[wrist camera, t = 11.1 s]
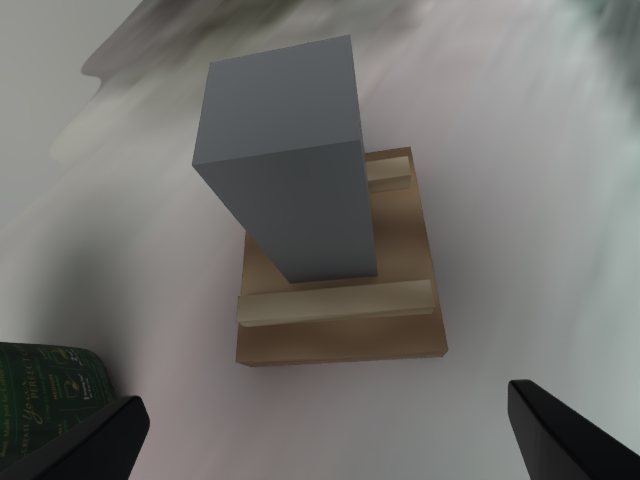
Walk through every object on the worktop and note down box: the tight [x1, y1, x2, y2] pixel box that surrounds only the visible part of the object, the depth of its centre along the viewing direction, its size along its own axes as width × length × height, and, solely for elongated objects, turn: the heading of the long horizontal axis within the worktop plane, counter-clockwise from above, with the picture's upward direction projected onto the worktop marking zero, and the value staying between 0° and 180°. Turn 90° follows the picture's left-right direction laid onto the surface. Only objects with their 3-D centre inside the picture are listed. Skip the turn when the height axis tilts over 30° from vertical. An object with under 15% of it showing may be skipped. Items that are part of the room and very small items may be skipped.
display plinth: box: [236, 147, 448, 367], centre depth 23 cm, size 14×12×4 cm
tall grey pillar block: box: [192, 35, 378, 284], centre depth 17 cm, size 5×6×12 cm
